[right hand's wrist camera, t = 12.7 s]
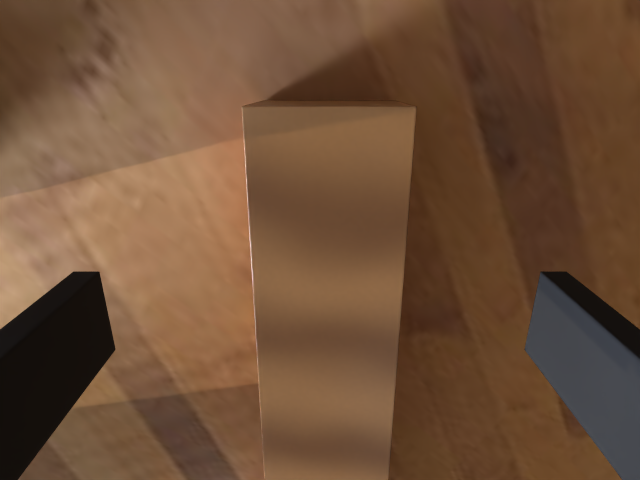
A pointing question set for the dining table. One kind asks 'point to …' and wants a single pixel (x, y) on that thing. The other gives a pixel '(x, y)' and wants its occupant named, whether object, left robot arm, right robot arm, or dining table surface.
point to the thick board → (327, 279)
